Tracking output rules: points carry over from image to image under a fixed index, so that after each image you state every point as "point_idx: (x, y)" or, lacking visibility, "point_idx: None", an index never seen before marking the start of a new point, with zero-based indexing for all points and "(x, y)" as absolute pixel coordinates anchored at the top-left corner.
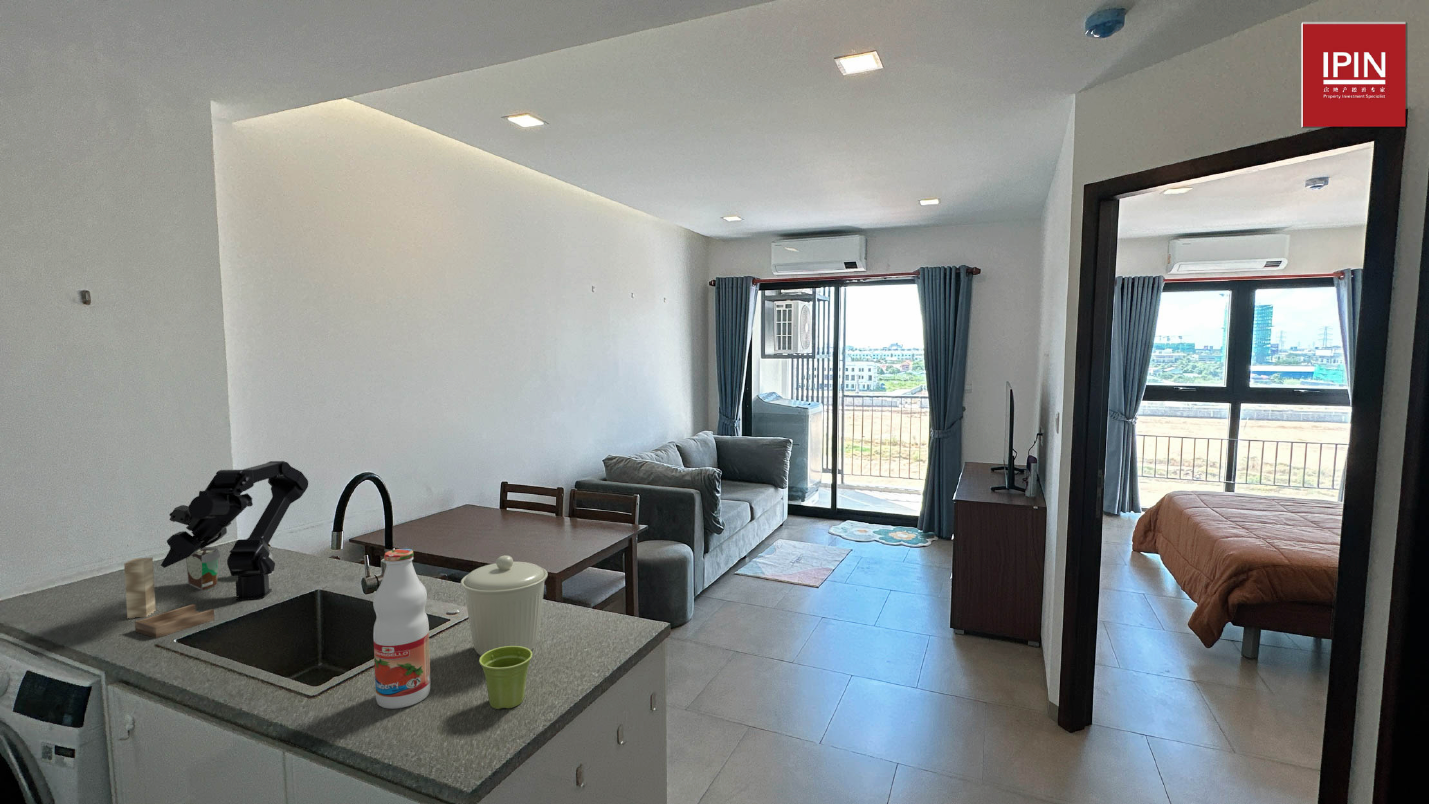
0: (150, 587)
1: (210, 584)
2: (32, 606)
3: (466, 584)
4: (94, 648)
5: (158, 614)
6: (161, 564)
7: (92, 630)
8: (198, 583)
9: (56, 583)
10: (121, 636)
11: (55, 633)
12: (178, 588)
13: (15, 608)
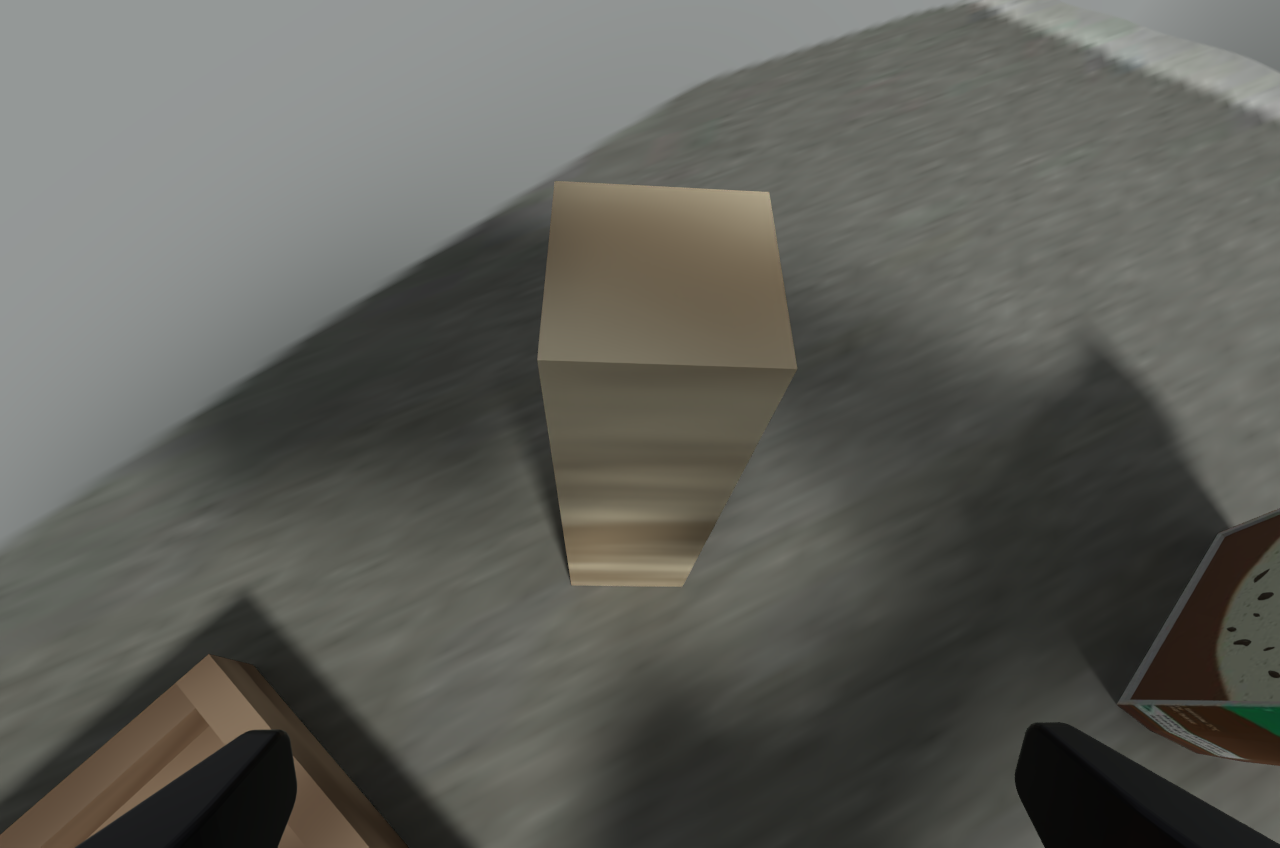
0: (649, 524)
1: (1206, 748)
2: (858, 72)
3: None
4: (38, 554)
5: (309, 774)
6: (227, 749)
7: (427, 396)
8: (1183, 650)
9: (1117, 36)
10: (201, 612)
11: (460, 265)
12: (1127, 511)
13: (842, 44)
